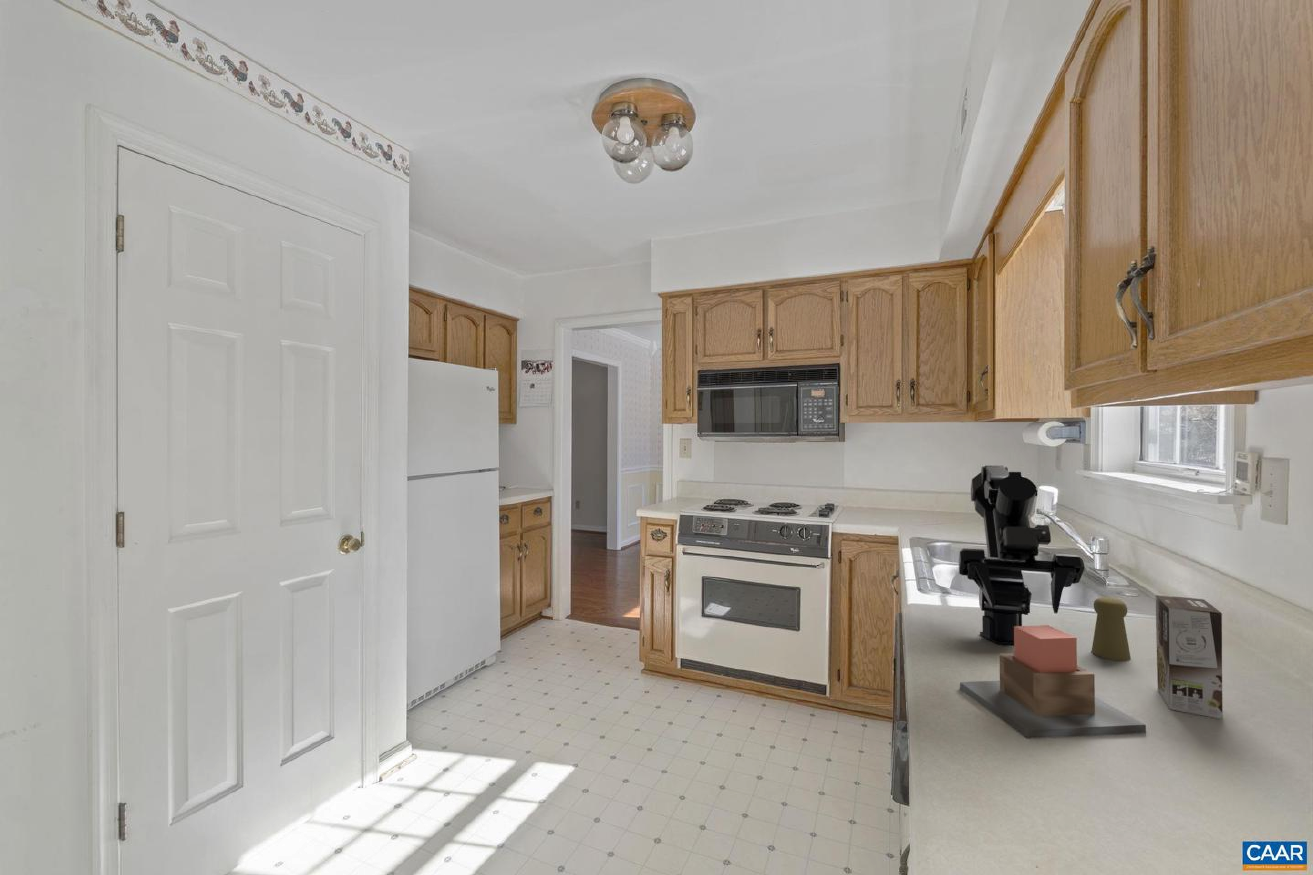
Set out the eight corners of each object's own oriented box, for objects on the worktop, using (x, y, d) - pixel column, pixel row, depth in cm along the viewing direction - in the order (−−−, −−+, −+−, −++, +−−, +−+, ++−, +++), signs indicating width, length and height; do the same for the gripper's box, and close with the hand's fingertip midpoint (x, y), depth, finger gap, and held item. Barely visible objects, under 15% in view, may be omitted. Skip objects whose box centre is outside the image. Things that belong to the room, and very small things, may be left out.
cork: (1095, 657, 110) (1094, 600, 110) (1088, 647, 115) (1087, 593, 115) (1134, 662, 107) (1134, 604, 107) (1126, 652, 112) (1125, 596, 113)
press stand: (1060, 685, 98) (1060, 643, 98) (1146, 732, 82) (1145, 683, 82) (960, 689, 97) (959, 646, 97) (1026, 738, 81) (1026, 687, 81)
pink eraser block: (1048, 661, 93) (1048, 625, 93) (1077, 676, 87) (1076, 637, 87) (1014, 663, 92) (1014, 626, 92) (1040, 678, 86) (1040, 638, 86)
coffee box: (1225, 720, 85) (1223, 613, 85) (1168, 710, 89) (1167, 606, 89) (1207, 696, 93) (1206, 598, 93) (1155, 687, 97) (1154, 593, 97)
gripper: (959, 505, 105) (965, 581, 96) (1081, 509, 98) (1101, 592, 88) (956, 537, 113) (961, 611, 103) (1069, 543, 105) (1086, 623, 96)
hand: (1024, 609), depth 98 cm, fingers open, 9 cm apart
